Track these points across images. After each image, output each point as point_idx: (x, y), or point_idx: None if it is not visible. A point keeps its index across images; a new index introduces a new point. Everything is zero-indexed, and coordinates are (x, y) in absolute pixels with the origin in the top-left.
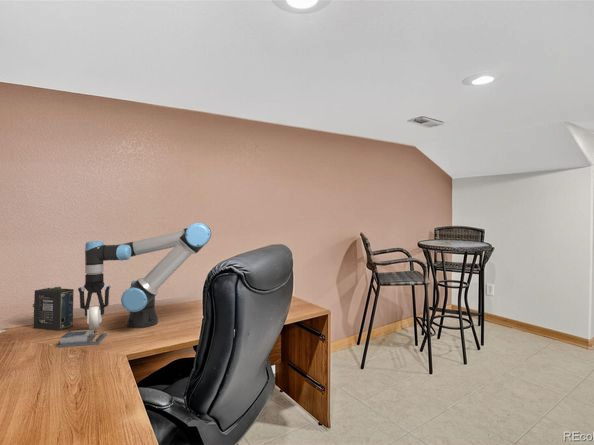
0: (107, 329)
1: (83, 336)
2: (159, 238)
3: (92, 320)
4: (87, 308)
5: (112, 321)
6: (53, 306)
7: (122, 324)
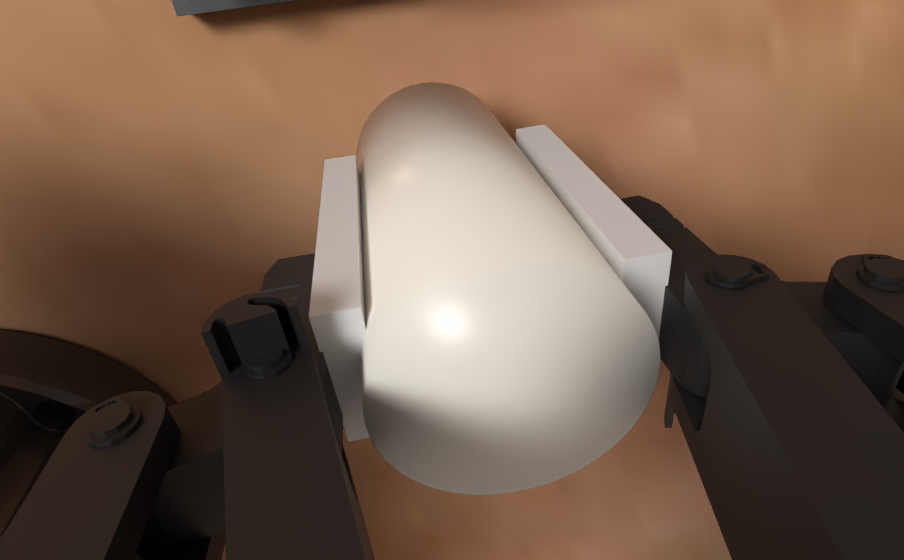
0: None
1: None
2: None
3: (455, 123)
4: (686, 286)
5: (420, 513)
6: None
7: None
